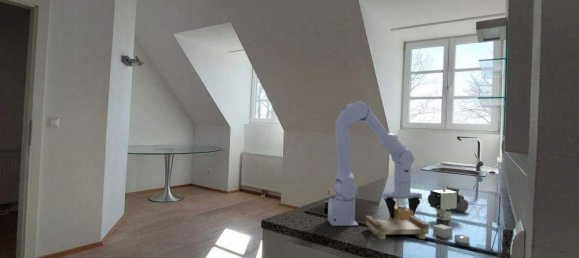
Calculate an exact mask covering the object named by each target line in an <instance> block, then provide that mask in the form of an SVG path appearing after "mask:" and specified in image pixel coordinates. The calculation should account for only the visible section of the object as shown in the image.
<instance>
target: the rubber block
mask: <svg viewBox="0 0 579 258" xmlns="http://www.w3.org/2000/svg"><path fill="white" fill-rule="evenodd" d="M434 234H435V235H434ZM432 235H434V236H437V235H438V237H439V236H440V238H443V239H446V238H451V237H453V227H452V226H448V225H445V224H441V223H440V224H435V225H432Z"/></svg>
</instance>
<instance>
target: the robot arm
mask: <svg viewBox="0 0 579 258" xmlns="http://www.w3.org/2000/svg"><path fill="white" fill-rule="evenodd" d="M357 122H360V123H364V124H366V125H367V126H368V127H369V128H370V130H372V131H373V132H374V133H375V134H376V135H377V137H379V138H380V144H381V146H382V147H383V148H384V149H385V150H386V151H387V153H388V154H389V155H390V156H391V159H392V161H393V162H394V179H393V180H394V183H393V185H394V187H393V191H390V192H381V194H382V195H381V198H382V199H384V202H385V204H386V206H387V210H388V214H389V216H390V218H392V219H394V208H395V206H396V203H397V201H395V199H396V200H397V199H405V200H407V201H408V209H410V210H412V211H413V216H415V214H416V210H417V208H418V207H419V206H420V204H421V200H422V199H423V194H422V193H421V192H411V184H412V183H411V179H412V178H411V177H412V176H411V174H412V164H413V163H415V156H414V155H413V153H412V151H410V150H409V149H408V150H407V148H406V145H404V144H403V143H402V142H401V141H400V140H399V136H398V135H397V134H394V133H390V132H388V131H387V130H386V128H385V127H384V126H383V125H382V123H381V122H380V121H379V119H378V118H377V117H376V116H375V114H374V112H373V111H372V108H370V107H368V106H367V104H366V103H365V102H363V101H360V100H359V101H355V102H351V103H347V104H346V105H345V106H344V107H342V108H341V110H340V114H339V115H338V117H337V118H336V121H335V123H334V131H335V135H334V136H335V151H336V167H337V168H336V169H337V170H336V172H337V173H336V174H335V180H334V182H333V190H334V192H335V193H336V194H335V196H334V197H333V198H328V202H327V203H328V205H327V221H328V222H329V224H330V225H331V226H333V227H340V226H341V227H343V226H344V227H347V226H351V227H352V226H354V227H355V226H359V223H358V222H357V221H356V220H355V218H356V217H355V216H356V215H355V214H356V197H357V195H358V192H359V190H358V187H357V184H356V183H355V182H356V181H355V177H354V174H353V171H352V169H353V168H352V167H353V166H352V151H351V149H352V148H351V135H350V134H351V131H350V130H351V127H353V126H354V125H355V124H356V123H357ZM390 218H389V219H390ZM392 219H391V220H392Z"/></svg>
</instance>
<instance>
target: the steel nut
mask: <svg viewBox="0 0 579 258" xmlns="http://www.w3.org/2000/svg"><path fill="white" fill-rule="evenodd" d="M470 241H471V240H470V237H469V236H467V235H464V234H455V235H454V243H455V244H456V245H458V246H459V245H460V246H470V245H469V244H470Z"/></svg>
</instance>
